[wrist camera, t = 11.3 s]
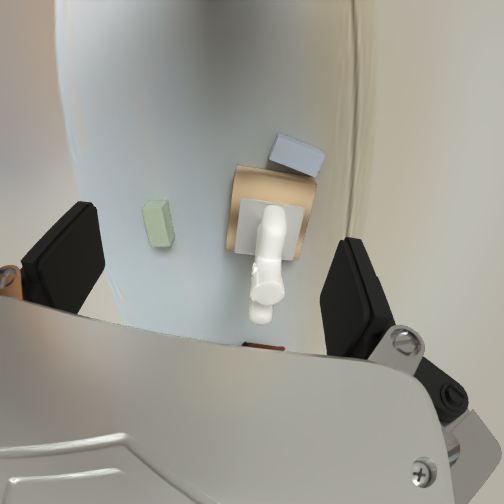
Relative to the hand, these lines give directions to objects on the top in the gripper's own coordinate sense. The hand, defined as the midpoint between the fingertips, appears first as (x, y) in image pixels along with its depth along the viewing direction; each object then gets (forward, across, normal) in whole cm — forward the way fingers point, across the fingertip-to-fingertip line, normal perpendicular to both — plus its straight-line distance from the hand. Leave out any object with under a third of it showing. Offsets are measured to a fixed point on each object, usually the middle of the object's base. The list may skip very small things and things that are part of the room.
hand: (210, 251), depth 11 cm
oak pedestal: (+28, -4, +12) cm, 31 cm away
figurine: (+25, -4, +12) cm, 28 cm away
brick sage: (+28, +11, +16) cm, 34 cm away
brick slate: (+29, -6, +4) cm, 30 cm away
